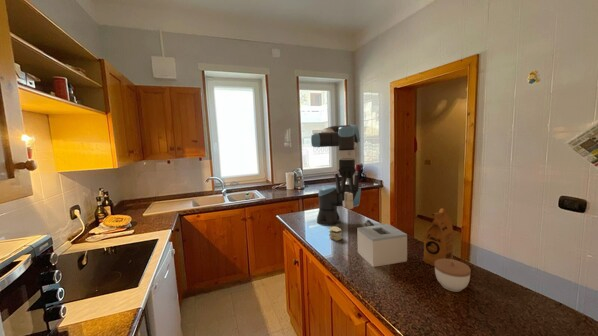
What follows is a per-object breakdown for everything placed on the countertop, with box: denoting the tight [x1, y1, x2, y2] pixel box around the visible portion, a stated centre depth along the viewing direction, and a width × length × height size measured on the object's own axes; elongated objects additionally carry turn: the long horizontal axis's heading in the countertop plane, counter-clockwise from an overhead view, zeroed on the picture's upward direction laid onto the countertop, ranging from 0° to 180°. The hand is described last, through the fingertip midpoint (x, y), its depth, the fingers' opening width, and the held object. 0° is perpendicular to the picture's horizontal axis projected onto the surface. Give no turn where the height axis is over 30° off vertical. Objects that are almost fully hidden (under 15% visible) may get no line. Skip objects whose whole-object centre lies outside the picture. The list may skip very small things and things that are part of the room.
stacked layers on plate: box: [328, 226, 343, 241], centre depth 132 cm, size 10×9×6 cm
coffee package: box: [423, 208, 454, 267], centre depth 102 cm, size 10×12×22 cm
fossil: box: [362, 219, 376, 227], centre depth 134 cm, size 11×9×10 cm
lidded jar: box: [434, 258, 472, 293], centre depth 85 cm, size 11×11×9 cm
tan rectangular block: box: [345, 192, 354, 210], centre depth 120 cm, size 6×3×7 cm, turn 13°
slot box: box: [356, 223, 408, 268], centre depth 109 cm, size 14×16×12 cm
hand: (347, 206), depth 120 cm, fingers closed on tan rectangular block, 3 cm apart
